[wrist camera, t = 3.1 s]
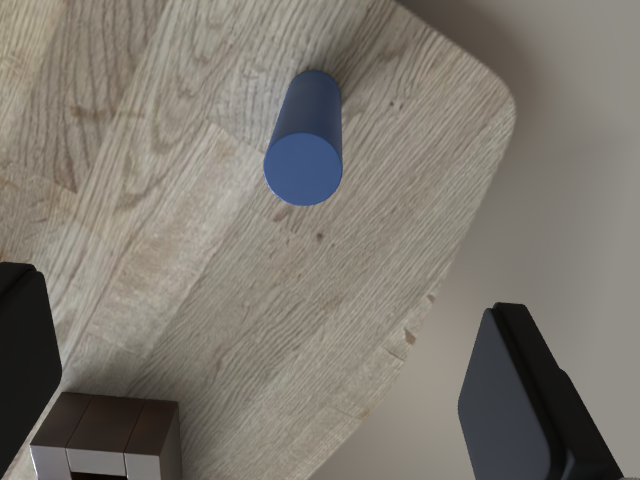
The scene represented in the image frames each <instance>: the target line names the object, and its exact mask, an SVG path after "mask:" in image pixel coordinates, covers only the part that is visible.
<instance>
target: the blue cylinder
mask: <svg viewBox="0 0 640 480" xmlns="http://www.w3.org/2000/svg"><path fill="white" fill-rule="evenodd" d="M342 171H343V164H342V123H341V93H340V89H339V87H338V85H337V83H336V82H335V80H334V79H333V78H332V77H331V76H329V75H328V74H326V73H324V72H321V71H317V70H311V71H306V72H303V73H301V74H299V75H298V76H296V77H295V78H294V79H293V81H292V82H291V84H290V85H289V88H288V91H287V94H286V96H285V99H284V102H283V105H282V108H281V111H280V114H279V117H278V120H277V123H276V126H275V129H274V132H273V134H272V137H271V140H270V143H269V146H268V149H267V152H266V155H265V158H264V163H263V172H264V177H265V180H266V183H267V185H268V186H269V188H270V189H271V191H272V192H273V193H274V194H275V195H276V196H277V197H279V198H280V199H281V200H283V201H285V202H287V203H290V204H293V205H298V206H310V205H315V204H318V203H320V202H323V201H324V200H326V199H328V198H329V197H330V196H331V195H332V194H333V193H334V192H335V191H336V189H337V188H338V186H339V184H340V181H341V178H342Z"/></svg>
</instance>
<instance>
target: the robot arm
mask: <svg viewBox="0 0 640 480" xmlns="http://www.w3.org/2000/svg"><path fill="white" fill-rule="evenodd" d="M61 377H62V365H61V360H60V355H59V350H58V345H57V340H56V335H55V329H54V324H53V319H52V314H51V309H50V304H49V298H48V293H47V288H46V283H45V278H44V275H43V274H42V272H39V271H36V268H35V267H34V265H32V264H25V263H13V262H1V263H0V480H1V478H2V477H3V475H4V474H5V472H6V470H7V469H8V467H9V465H10V464H11V462H12V461H13V459H14V457H15V456H16V454H17V453H18V451H19V449H20V448H21V446H22V444H23V443H24V441H25V440H26V438H27V436H28V435H29V433H30V431H31V430H32V428H33V427H34V425H35V423H36V422H37V420H38V418H39V417H40V415H41V414H42V412H43V410H44V409H45V407H46V405H47V404H48V402H49V401H50V399H51V397H52V396H53V394H54V393H55V391H56V389H57V388H58V386H59V384H60V381H61ZM458 415H459V419H460V423H461V427H462V430H463V434H464V438H465V442H466V445H467V449H468V452H469V456H470V460H471V463H472V467H473V471H474V475H475V478H476V480H640V479H639V478H624V476H623V474H622V472H621V470H620V468H619V467H618V465H617V463H616V461H615V459H614V458H613V456H612V454H611V452H610V450H609V449H608V447H607V445H606V443H605V441H604V440H603V438H602V436H601V434H600V432H599V430H598V429H597V427H596V425H595V424H594V422H593V420H592V418H591V416H590V414H589V412H588V410H587V409H586V407H585V405H584V404H583V401H582V400H581V398H580V396H579V394H578V392H577V390H576V389H575V387H574V385H573V383H572V382H571V380H570V378H569V377H568V375H567V374H566V372H565V371H563V370H562V369H560V368H559V366H558V365H557V363H556V361H555V359H554V357H553V355H552V353H551V352H550V350H549V348H548V346H547V344H546V343H545V341H544V339H543V337H542V335H541V333H540V331H539V329H538V328H537V326H536V324H535V322H534V320H533V318H532V316H531V315H530V313H529V311H528V309H527V307H526V306H525V305H523V304H513V303H501V302H497V303H495V304H494V306H493V308H492V309H491V308H487V309H486V310H485V311H484V314H483V317H482V320H481V324H480V328H479V331H478V334H477V338H476V341H475V344H474V348H473V351H472V355H471V358H470V362H469V365H468V369H467V372H466V376H465V379H464V383H463V386H462V389H461V393H460V396H459V400H458Z"/></svg>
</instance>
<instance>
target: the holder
mask: <svg viewBox="0 0 640 480" xmlns="http://www.w3.org/2000/svg"><path fill="white" fill-rule="evenodd" d="M29 446H30V450H31V454H32V458H33V462H34V466H35V470H36V474H37V478H38V480H183V477H182V459H181V441H180V424H179V406H178V402H171V401H159V400H145V399H135V398H124V397H112V396H100V395H90V394H78V393H66V392H62V393H61V394H60V396H59V397H58V399H57V401H56V402H55V404H54V405H53V407H52V409H51V410H50V412H49V414H48V415H47V417H46V418H45V420H44V422H43V423H42V425H41V426H40V428H39V430H38V431H37V433H36V435H35V436H34V438H33V439H32V441H31V443H30V444H29Z"/></svg>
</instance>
